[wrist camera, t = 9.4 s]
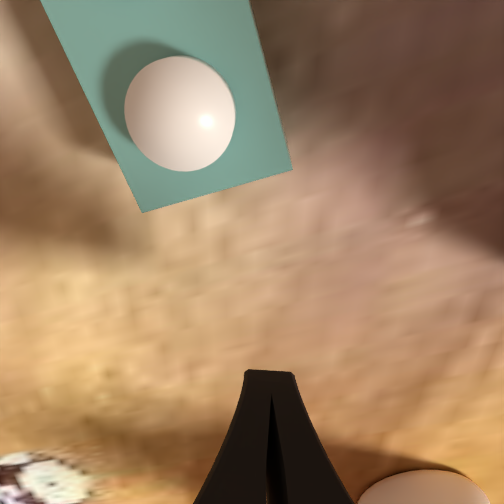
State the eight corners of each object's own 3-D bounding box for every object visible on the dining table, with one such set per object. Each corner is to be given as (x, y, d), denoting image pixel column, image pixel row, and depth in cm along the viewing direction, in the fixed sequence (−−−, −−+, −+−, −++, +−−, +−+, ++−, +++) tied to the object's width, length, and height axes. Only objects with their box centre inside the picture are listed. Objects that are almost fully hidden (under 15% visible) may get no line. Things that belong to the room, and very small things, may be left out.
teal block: (286, 139, 14) (294, 179, 10) (166, 174, 14) (134, 224, 11) (199, -194, 10) (160, -326, 6) (41, -121, 11) (-77, -201, 7)
